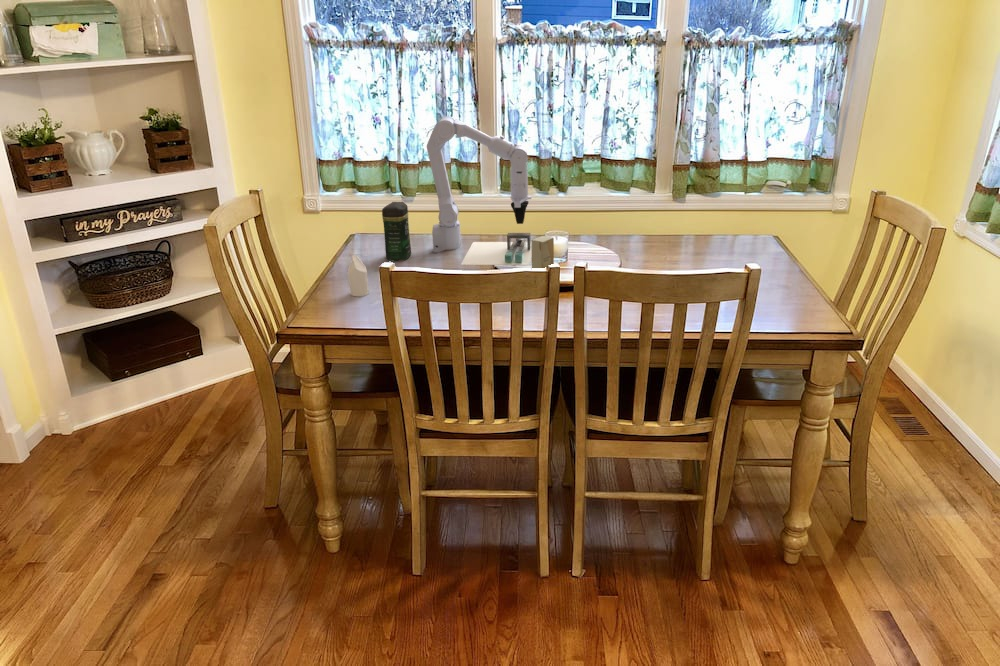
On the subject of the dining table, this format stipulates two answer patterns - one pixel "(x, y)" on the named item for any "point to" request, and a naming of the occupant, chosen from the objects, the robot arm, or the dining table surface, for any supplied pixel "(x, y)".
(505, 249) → the board
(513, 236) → the grey u-shaped bracket
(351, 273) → the cream carton
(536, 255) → the skincare box
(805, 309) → the dining table surface
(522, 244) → the tongs fixed
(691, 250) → the dining table surface
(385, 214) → the coffee jar
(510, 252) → the tong arm
